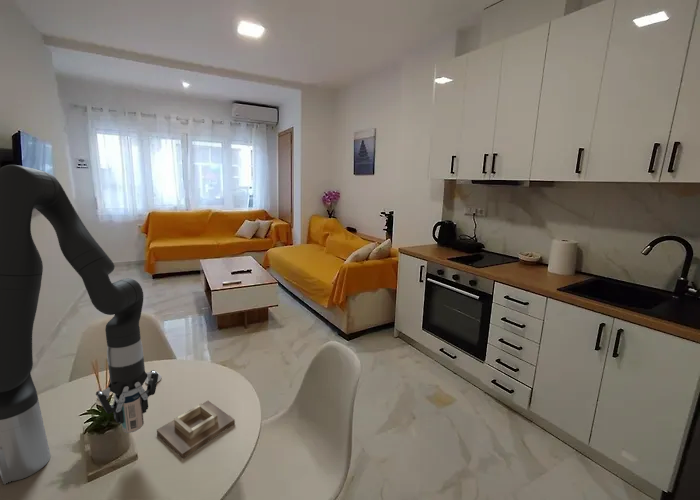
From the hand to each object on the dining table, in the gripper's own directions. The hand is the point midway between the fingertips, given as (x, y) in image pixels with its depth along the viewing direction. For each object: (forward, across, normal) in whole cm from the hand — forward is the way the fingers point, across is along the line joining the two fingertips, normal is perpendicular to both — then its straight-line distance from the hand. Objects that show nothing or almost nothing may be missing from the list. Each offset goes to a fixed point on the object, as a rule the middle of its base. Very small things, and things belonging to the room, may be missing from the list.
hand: (132, 416), depth 89 cm
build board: (+10, +14, -5) cm, 18 cm away
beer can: (+4, 0, 0) cm, 4 cm away
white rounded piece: (+11, +16, +29) cm, 35 cm away
